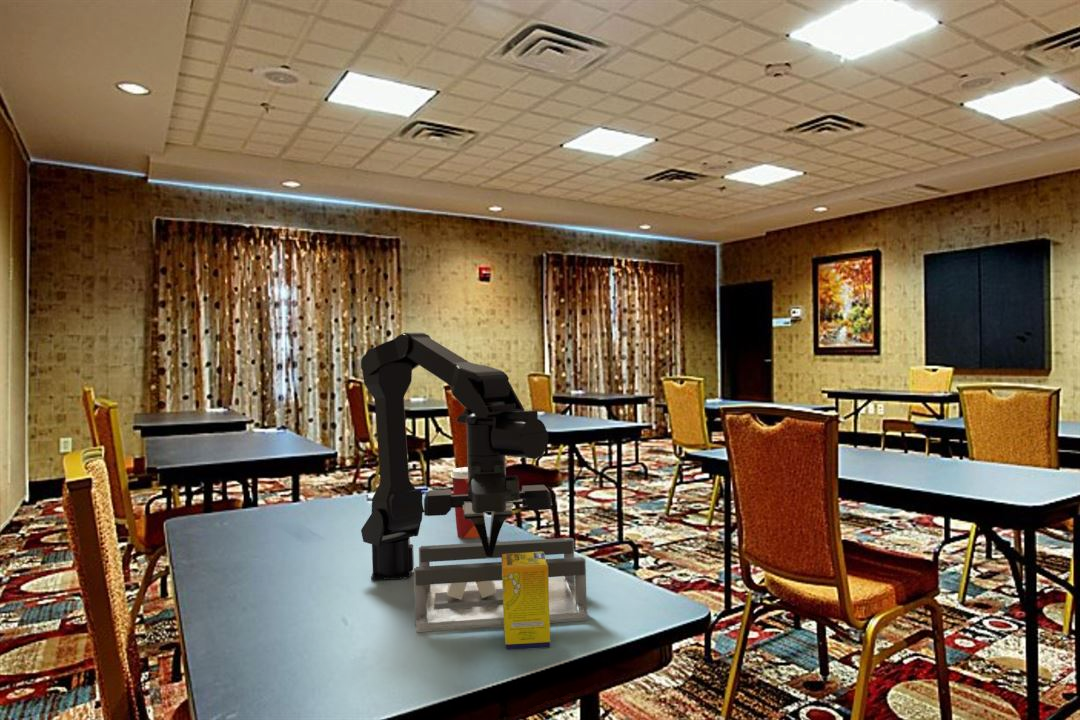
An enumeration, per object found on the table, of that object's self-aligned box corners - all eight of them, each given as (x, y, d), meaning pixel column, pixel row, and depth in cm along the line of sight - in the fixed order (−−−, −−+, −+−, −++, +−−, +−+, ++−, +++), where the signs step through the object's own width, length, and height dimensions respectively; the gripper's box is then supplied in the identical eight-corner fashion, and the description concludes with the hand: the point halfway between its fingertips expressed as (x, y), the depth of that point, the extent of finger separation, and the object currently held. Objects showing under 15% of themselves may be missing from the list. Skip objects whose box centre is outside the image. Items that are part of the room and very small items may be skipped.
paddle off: (482, 598, 104) (474, 579, 104) (481, 590, 107) (474, 572, 107) (496, 592, 104) (488, 574, 104) (495, 585, 107) (487, 567, 107)
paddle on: (447, 595, 103) (453, 576, 103) (447, 588, 107) (453, 569, 107) (461, 599, 103) (467, 580, 104) (461, 592, 107) (467, 573, 107)
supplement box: (503, 633, 96) (500, 553, 95) (546, 630, 96) (544, 550, 96) (504, 651, 90) (502, 566, 90) (551, 648, 90) (548, 563, 90)
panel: (416, 632, 97) (416, 619, 97) (423, 593, 112) (422, 582, 112) (587, 620, 99) (587, 607, 99) (570, 583, 115) (570, 572, 115)
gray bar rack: (414, 628, 98) (413, 571, 98) (420, 596, 111) (419, 546, 111) (588, 616, 101) (586, 560, 101) (573, 586, 114) (572, 537, 114)
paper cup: (483, 540, 144) (481, 472, 143) (447, 539, 145) (445, 472, 145) (493, 530, 151) (491, 466, 151) (459, 530, 153) (457, 466, 153)
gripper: (420, 464, 96) (423, 577, 96) (554, 458, 98) (557, 569, 99) (424, 453, 107) (427, 554, 108) (545, 448, 109) (548, 547, 110)
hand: (489, 556), depth 106 cm, fingers closed
